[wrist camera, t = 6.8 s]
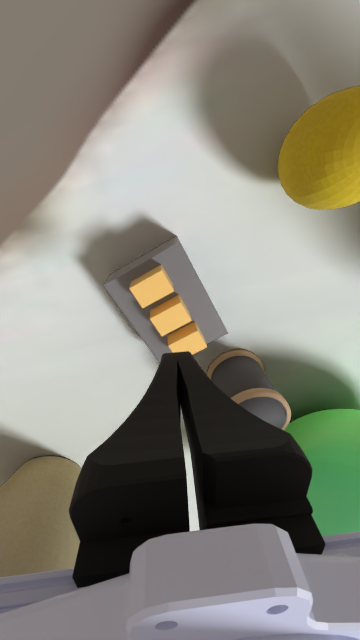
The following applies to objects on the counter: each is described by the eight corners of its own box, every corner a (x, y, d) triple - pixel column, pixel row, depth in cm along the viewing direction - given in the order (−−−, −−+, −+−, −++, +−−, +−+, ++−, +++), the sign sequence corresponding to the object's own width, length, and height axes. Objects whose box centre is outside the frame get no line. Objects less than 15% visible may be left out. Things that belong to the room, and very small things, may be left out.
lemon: (254, 206, 19) (315, 212, 12) (267, 111, 16) (354, 45, 9) (325, 207, 19) (426, 215, 12) (348, 116, 17) (490, 57, 10)
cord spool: (273, 360, 25) (305, 405, 20) (243, 401, 27) (265, 452, 22) (224, 341, 24) (244, 384, 18) (197, 386, 26) (207, 436, 20)
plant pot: (72, 526, 34) (11, 762, 20) (-42, 484, 29) (-235, 766, 15) (145, 468, 30) (136, 709, 16) (30, 407, 25) (-137, 688, 11)
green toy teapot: (416, 399, 29) (630, 566, 16) (333, 489, 36) (436, 660, 23) (281, 362, 25) (418, 544, 12) (215, 471, 32) (257, 666, 19)
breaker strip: (110, 273, 20) (99, 293, 16) (176, 235, 20) (181, 245, 15) (161, 347, 24) (162, 378, 20) (219, 316, 23) (233, 343, 19)
